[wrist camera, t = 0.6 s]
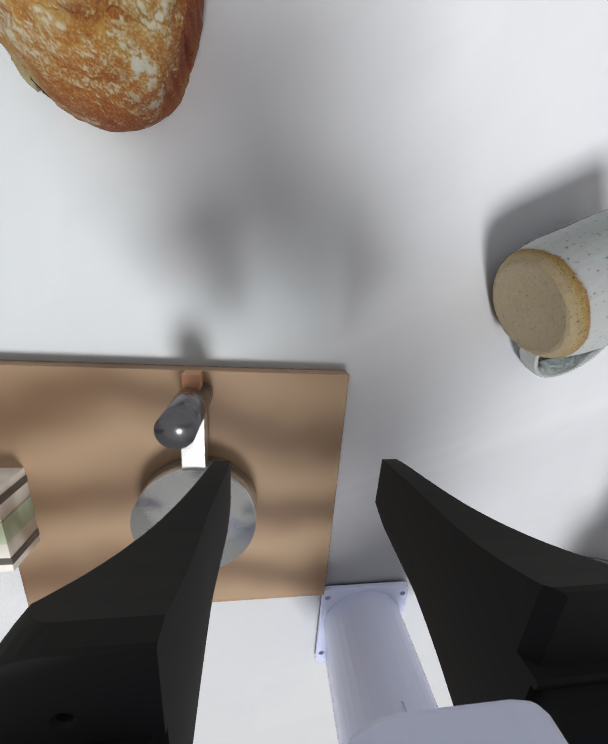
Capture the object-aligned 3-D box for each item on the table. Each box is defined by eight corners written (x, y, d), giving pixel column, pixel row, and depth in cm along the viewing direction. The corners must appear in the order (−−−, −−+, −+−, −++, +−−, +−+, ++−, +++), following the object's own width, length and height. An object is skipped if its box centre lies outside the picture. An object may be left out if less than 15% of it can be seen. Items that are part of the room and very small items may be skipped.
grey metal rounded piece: (255, 545, 24) (252, 611, 19) (146, 550, 23) (115, 621, 18) (260, 369, 20) (258, 398, 15) (127, 365, 19) (81, 395, 14)
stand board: (322, 583, 28) (329, 624, 24) (39, 601, 25) (5, 650, 21) (345, 371, 22) (359, 387, 19) (-19, 359, 19) (-78, 377, 16)
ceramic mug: (473, 253, 21) (586, 244, 13) (587, 204, 21) (762, 168, 13) (499, 387, 24) (600, 438, 17) (596, 346, 24) (740, 379, 17)
